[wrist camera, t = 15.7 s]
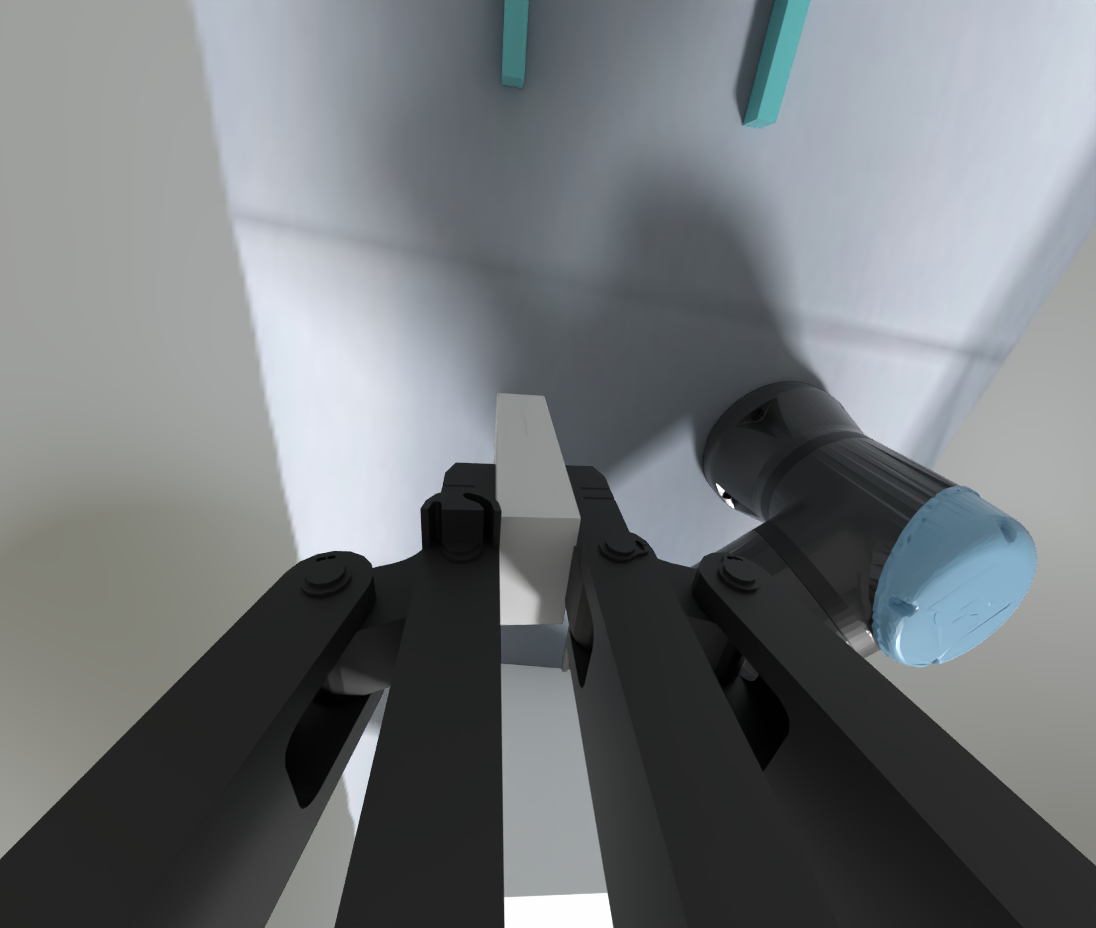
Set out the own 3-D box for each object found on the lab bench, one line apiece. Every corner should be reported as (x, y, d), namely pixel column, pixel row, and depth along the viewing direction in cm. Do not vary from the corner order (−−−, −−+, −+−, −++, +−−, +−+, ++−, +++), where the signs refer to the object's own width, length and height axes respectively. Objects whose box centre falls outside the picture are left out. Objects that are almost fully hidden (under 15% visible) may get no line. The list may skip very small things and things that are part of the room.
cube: (495, 660, 60) (495, 897, 38) (631, 672, 64) (698, 889, 43) (463, 756, 71) (449, 982, 49) (582, 760, 75) (616, 968, 54)
